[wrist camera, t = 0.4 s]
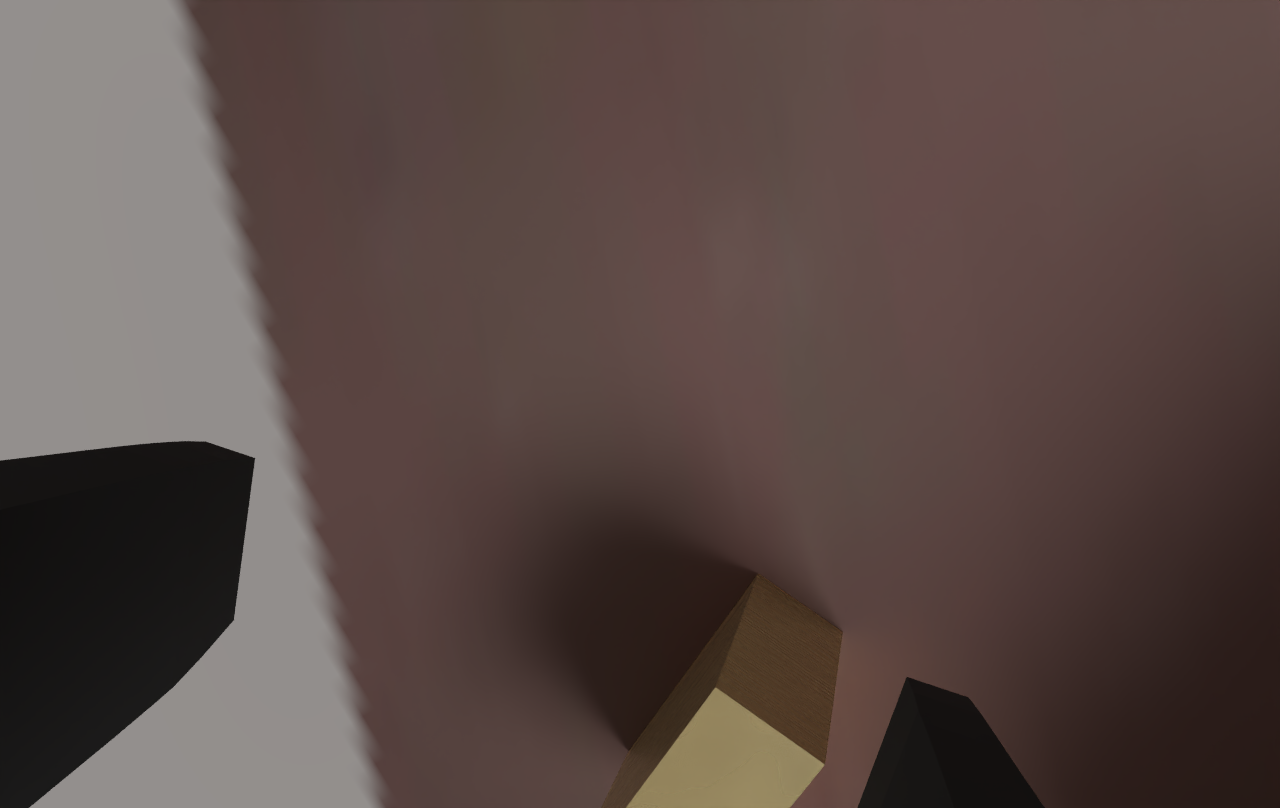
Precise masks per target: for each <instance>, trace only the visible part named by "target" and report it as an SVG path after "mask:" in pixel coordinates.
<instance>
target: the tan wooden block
mask: <svg viewBox="0 0 1280 808" xmlns="http://www.w3.org/2000/svg"><path fill="white" fill-rule="evenodd" d="M842 634H843V632H842V631H841V630H839V629H838V628H836V627H835V626H833V625H832V624H830V623H829V622H828V621H826V620H825V619H823V618H822V617H820V616H819V615H817V614H816V613H815V612H813V611H812V610H810V609H809V608H807V607H806V606H804V605H803V604H802V603H800V602H799V601H797V600H796V599H794V598H793V597H791V596H790V595H789V594H787V593H786V592H784V591H783V590H781V589H780V588H778V587H777V586H776V585H774V584H773V583H771V582H770V581H768V580H767V579H765V578H764V577H763V576H761V575H760V574H757V576H756V577H755V578H754V580H753V581H752V583H751V584H750V585H749V587H748V588H747V589H746V591H745V592H744V594H743V595H742V596H741V598H740V599H739V600H738V602H737V603H736V605H735V606H734V607H733V609H732V610H731V611H730V613H729V614H728V616H727V617H726V618H725V620H724V621H723V622H722V624H721V625H720V626H719V628H718V629H717V631H716V632H715V633H714V635H713V636H712V637H711V639H710V640H709V642H708V643H707V644H706V646H705V647H704V648H703V650H702V651H701V653H700V654H699V655H698V657H697V658H696V659H695V661H694V662H693V664H692V665H691V666H690V668H689V669H688V670H687V672H686V673H685V675H684V676H683V677H682V679H681V680H680V681H679V683H678V684H677V686H676V687H675V688H674V690H673V691H672V692H671V694H670V695H669V697H668V698H667V699H666V701H665V702H664V703H663V705H662V706H661V708H660V709H659V710H658V712H657V713H656V714H655V716H654V717H653V719H652V720H651V721H650V723H649V724H648V725H647V727H646V728H645V729H644V731H643V732H642V734H641V735H640V736H639V738H638V739H637V740H636V742H635V743H634V745H633V746H632V747H631V749H630V750H629V752H628V754H627V756H626V758H625V760H624V762H623V764H622V766H621V768H620V770H619V772H618V774H617V776H616V779H615V781H614V783H613V785H612V787H611V789H610V791H609V793H608V795H607V797H606V799H605V801H604V803H603V805H602V807H601V808H790V807H791V806H792V805H793V803H794V802H795V801H796V800H797V798H798V797H799V796H800V795H801V793H802V792H803V791H804V790H805V788H806V787H807V786H808V785H809V784H810V782H811V781H812V780H813V779H814V777H815V776H816V775H817V774H818V772H819V771H820V770H821V769H822V768H823V766H824V765H825V760H826V753H827V745H828V738H829V730H830V723H831V715H832V708H833V701H834V693H835V686H836V678H837V671H838V663H839V656H840V648H841V641H842Z"/></svg>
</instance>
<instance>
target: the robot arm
mask: <svg viewBox="0 0 1280 808" xmlns="http://www.w3.org/2000/svg"><path fill="white" fill-rule="evenodd" d="M254 461H255V458H253V457H249V456H247V455H244V454H241V453H238V452H235V451H232V450H229V449H226V448H223V447H220V446H217V445H214V444H211V443H208V442H194V441H192V442H191V441H181V442H163V443H150V444H139V445H130V446H120V447H111V448H102V449H94V450H85V451H77V452H69V453H60V454H53V455H44V456H36V457H27V458H19V459H11V460H3V461H0V808H29V807H30V806H31V805H33V804H34V803H35V802H36V801H38V800H39V799H40V798H41V797H42V796H44V795H45V794H46V793H47V792H48V791H50V790H51V789H52V788H53V787H55V786H56V785H57V784H58V783H59V782H61V781H62V780H63V779H64V778H65V777H67V776H68V775H69V774H70V773H71V772H73V771H74V770H75V769H76V768H78V767H79V766H80V765H81V764H82V763H84V762H85V761H86V760H87V759H89V758H90V757H91V756H92V755H93V754H95V753H96V752H97V751H98V750H99V749H101V748H102V747H103V746H104V745H106V744H107V743H108V742H109V741H110V740H111V739H113V738H114V737H115V736H116V735H118V734H119V733H120V732H121V731H122V730H124V729H125V728H126V727H127V726H128V725H129V724H131V723H132V722H133V721H134V720H135V719H136V718H138V717H139V716H140V715H141V714H142V713H143V712H145V711H146V710H147V709H148V708H150V707H151V706H152V705H153V704H154V703H155V702H157V701H158V700H159V699H160V698H161V697H162V696H164V694H166V693H167V692H168V691H169V690H170V689H172V688H173V687H174V686H175V685H176V684H177V682H179V680H180V679H181V678H182V677H183V676H184V675H185V674H186V673H187V672H188V671H189V670H190V669H191V668H192V667H193V666H194V665H195V663H196V662H197V661H198V660H199V659H200V658H201V657H202V656H203V655H204V654H205V652H206V651H207V650H208V649H209V648H210V647H211V646H212V644H213V643H214V642H215V641H216V640H217V639H218V638H219V636H220V635H221V634H222V633H223V632H224V631H225V629H226V628H227V627H228V626H229V625H230V624H231V623H232V621H233V620H234V614H235V606H236V598H237V591H238V583H239V576H240V575H239V574H240V568H241V560H242V553H243V545H244V538H245V530H246V522H247V514H248V507H249V499H250V492H251V484H252V477H253V469H254ZM858 808H1045V807H1044V806H1043V805H1042V803H1041V802H1040V800H1039V799H1038V797H1037V796H1036V795H1035V793H1034V792H1033V790H1032V789H1031V787H1030V786H1029V784H1028V783H1027V781H1026V780H1025V779H1024V777H1023V776H1022V774H1021V773H1020V771H1019V770H1018V768H1017V767H1016V765H1015V764H1014V762H1013V761H1012V759H1011V758H1010V756H1009V755H1008V753H1007V752H1006V750H1005V749H1004V747H1003V746H1002V744H1001V743H1000V741H999V740H998V738H997V737H996V735H995V734H994V732H993V731H992V729H991V728H990V727H989V725H988V724H987V722H986V721H985V719H984V718H983V716H982V715H981V713H980V712H979V711H978V709H977V708H976V707H975V705H974V704H973V703H972V701H971V700H970V699H969V698H968V697H965V696H962V695H959V694H956V693H953V692H950V691H947V690H944V689H941V688H938V687H935V686H932V685H929V684H926V683H923V682H921V681H918V680H915V679H912V678H909V677H907V678H906V681H905V683H904V686H903V689H902V691H901V694H900V697H899V699H898V702H897V705H896V707H895V710H894V712H893V715H892V718H891V720H890V723H889V726H888V728H887V731H886V734H885V736H884V739H883V742H882V744H881V747H880V750H879V752H878V755H877V758H876V760H875V763H874V766H873V768H872V771H871V774H870V776H869V779H868V782H867V784H866V787H865V790H864V792H863V795H862V798H861V800H860V803H859V805H858Z"/></svg>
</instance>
